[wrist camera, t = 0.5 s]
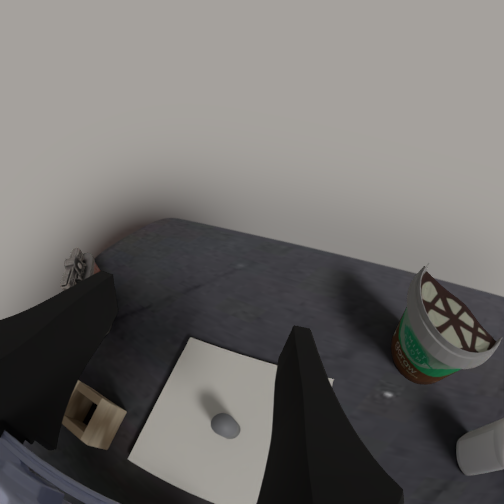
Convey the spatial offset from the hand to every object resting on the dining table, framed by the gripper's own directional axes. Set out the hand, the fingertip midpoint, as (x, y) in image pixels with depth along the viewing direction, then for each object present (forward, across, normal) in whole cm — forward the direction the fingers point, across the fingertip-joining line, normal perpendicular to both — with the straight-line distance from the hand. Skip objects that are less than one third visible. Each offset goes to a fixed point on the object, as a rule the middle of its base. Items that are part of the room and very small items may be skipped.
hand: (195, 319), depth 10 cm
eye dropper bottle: (-1, -30, +14) cm, 33 cm away
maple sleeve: (+1, +11, +23) cm, 25 cm away
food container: (+11, -22, +12) cm, 27 cm away
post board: (+3, -4, +19) cm, 19 cm away
